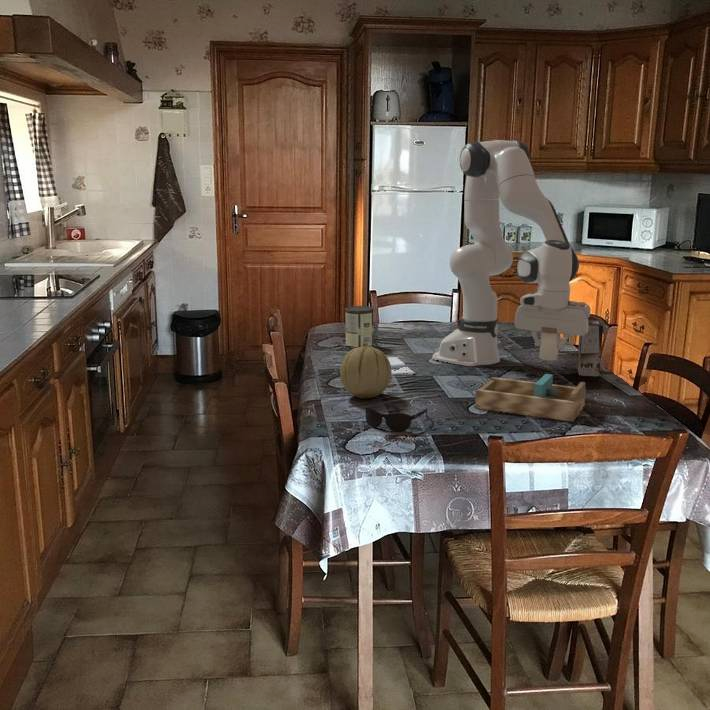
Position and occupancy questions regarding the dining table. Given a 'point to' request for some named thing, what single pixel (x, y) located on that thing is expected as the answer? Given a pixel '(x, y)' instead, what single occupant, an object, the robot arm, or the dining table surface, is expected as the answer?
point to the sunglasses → (390, 418)
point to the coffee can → (359, 326)
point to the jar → (549, 344)
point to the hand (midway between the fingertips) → (549, 347)
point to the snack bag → (396, 362)
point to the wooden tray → (530, 399)
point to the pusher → (545, 387)
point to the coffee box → (590, 350)
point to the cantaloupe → (365, 372)
